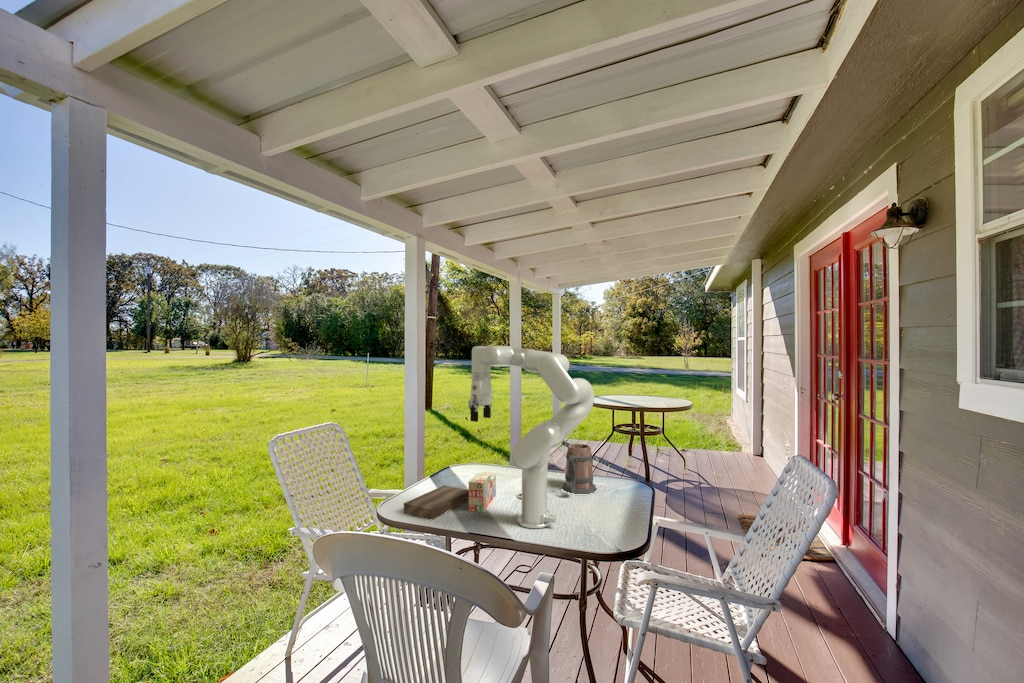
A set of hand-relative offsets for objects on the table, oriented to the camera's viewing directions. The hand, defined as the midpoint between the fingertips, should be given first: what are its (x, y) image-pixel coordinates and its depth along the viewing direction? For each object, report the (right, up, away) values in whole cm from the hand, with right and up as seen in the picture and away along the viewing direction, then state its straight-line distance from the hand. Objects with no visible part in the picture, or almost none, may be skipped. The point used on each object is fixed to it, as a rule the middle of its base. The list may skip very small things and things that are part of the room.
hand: (480, 419), depth 184 cm
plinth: (-18, -37, +5) cm, 41 cm away
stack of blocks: (0, -37, +9) cm, 38 cm away
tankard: (+42, -37, +25) cm, 61 cm away
